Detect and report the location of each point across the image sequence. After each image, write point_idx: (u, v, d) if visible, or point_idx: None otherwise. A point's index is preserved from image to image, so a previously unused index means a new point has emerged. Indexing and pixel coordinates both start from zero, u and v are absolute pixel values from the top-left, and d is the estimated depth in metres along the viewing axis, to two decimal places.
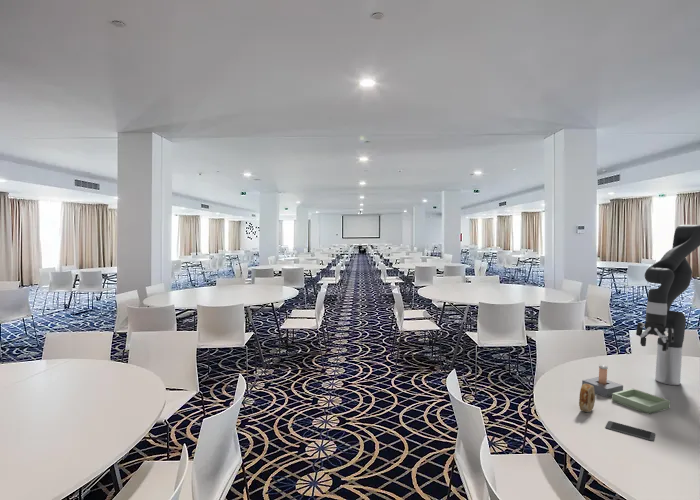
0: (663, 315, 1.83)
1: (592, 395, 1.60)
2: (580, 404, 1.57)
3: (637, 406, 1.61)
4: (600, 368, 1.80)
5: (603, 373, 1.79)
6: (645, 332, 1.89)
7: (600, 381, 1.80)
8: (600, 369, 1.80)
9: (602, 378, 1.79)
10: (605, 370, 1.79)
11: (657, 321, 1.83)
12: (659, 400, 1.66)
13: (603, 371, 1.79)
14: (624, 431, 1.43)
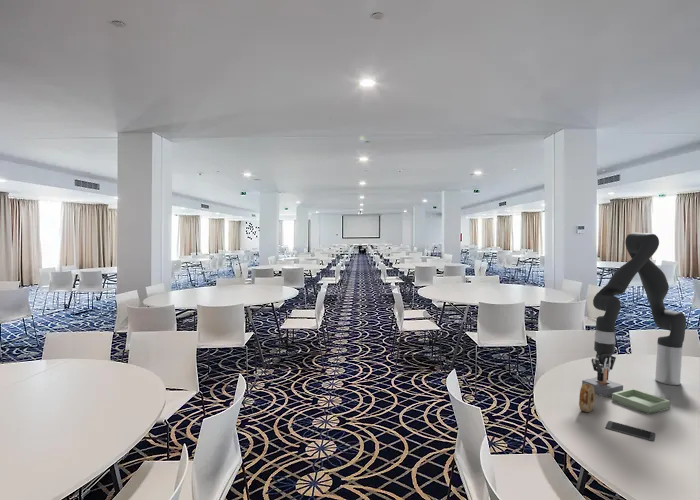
0: None
1: (592, 395, 1.60)
2: (580, 404, 1.57)
3: (637, 406, 1.61)
4: None
5: None
6: (604, 365, 1.78)
7: (600, 381, 1.80)
8: None
9: None
10: (605, 369, 1.79)
11: (614, 349, 1.78)
12: (659, 400, 1.66)
13: None
14: (624, 431, 1.43)
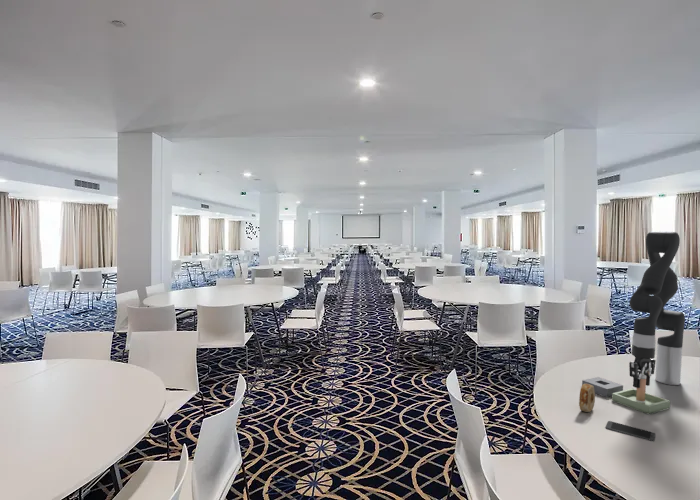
0: None
1: (592, 395, 1.60)
2: (580, 404, 1.57)
3: (637, 406, 1.61)
4: None
5: (642, 384, 1.65)
6: (643, 371, 1.64)
7: (638, 392, 1.66)
8: None
9: (641, 389, 1.66)
10: (644, 380, 1.65)
11: None
12: (659, 400, 1.66)
13: (641, 381, 1.65)
14: (624, 431, 1.43)
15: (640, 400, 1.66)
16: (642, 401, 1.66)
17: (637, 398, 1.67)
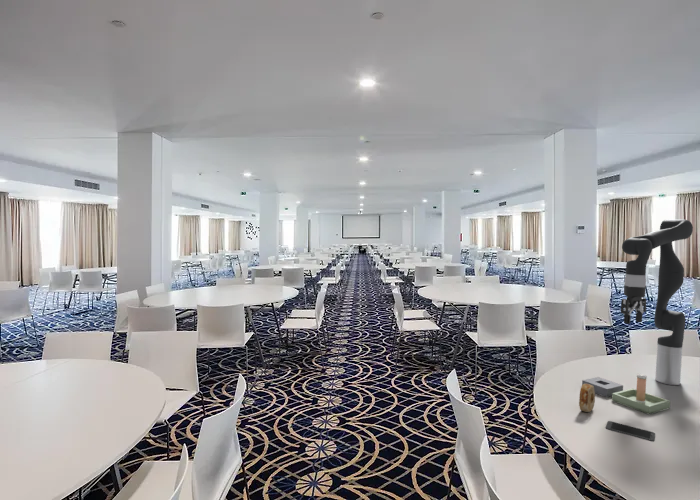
0: None
1: (592, 395, 1.60)
2: (580, 404, 1.57)
3: (637, 406, 1.61)
4: (638, 378, 1.66)
5: (642, 384, 1.65)
6: (633, 308, 1.76)
7: (638, 392, 1.66)
8: (638, 379, 1.66)
9: (641, 389, 1.66)
10: (644, 380, 1.65)
11: None
12: (659, 400, 1.66)
13: (642, 381, 1.65)
14: (624, 431, 1.43)
15: (640, 400, 1.66)
16: (642, 401, 1.66)
17: (637, 398, 1.67)
